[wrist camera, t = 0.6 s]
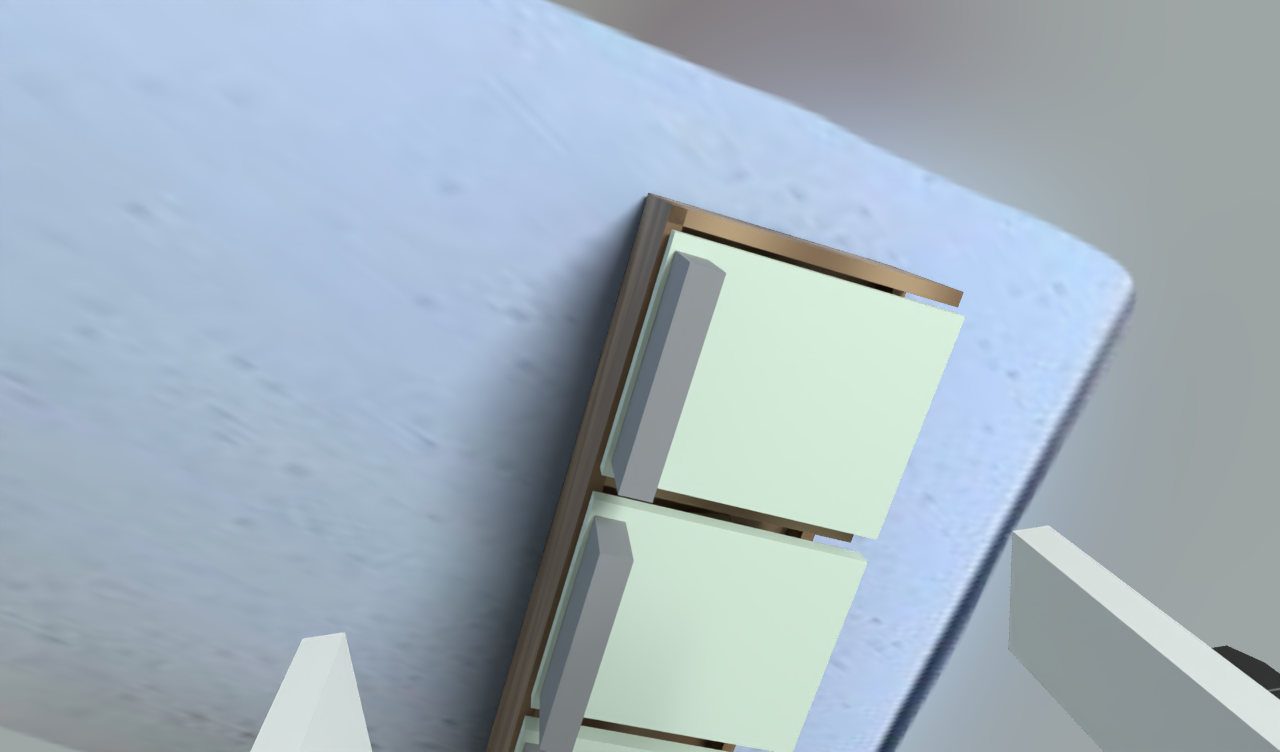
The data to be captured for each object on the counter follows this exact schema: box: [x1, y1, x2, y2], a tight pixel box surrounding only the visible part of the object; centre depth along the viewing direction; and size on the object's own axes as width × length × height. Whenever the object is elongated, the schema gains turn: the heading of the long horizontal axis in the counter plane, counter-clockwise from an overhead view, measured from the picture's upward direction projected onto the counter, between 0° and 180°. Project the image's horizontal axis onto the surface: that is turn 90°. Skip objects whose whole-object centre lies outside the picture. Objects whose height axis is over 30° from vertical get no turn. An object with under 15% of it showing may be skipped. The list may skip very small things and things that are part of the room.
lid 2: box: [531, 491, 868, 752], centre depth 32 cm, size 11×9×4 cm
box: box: [485, 193, 964, 752], centre depth 37 cm, size 12×31×7 cm, turn 163°
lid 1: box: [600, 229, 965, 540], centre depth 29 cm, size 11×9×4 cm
